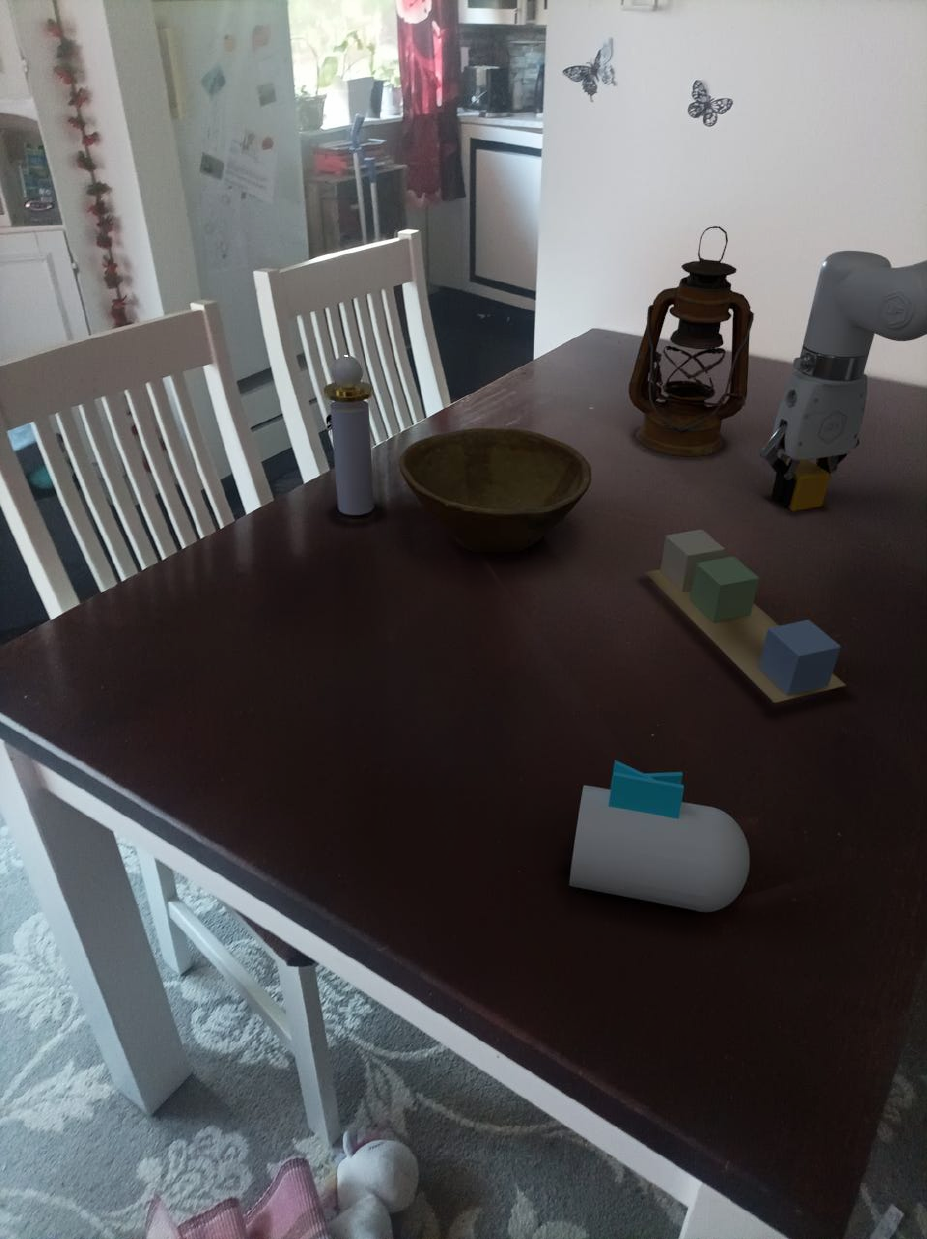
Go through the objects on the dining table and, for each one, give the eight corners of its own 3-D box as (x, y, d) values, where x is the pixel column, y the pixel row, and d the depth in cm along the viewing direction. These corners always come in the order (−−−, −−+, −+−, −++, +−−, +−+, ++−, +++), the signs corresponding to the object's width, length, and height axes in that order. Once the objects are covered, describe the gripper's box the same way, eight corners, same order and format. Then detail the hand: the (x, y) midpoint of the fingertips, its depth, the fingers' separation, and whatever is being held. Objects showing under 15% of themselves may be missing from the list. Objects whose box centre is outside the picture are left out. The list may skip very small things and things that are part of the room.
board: (704, 567, 101) (706, 560, 100) (843, 693, 82) (846, 685, 81) (643, 579, 98) (644, 571, 98) (772, 710, 80) (774, 702, 79)
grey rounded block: (769, 813, 56) (582, 781, 58) (745, 940, 58) (565, 905, 60) (748, 753, 67) (593, 728, 69) (729, 861, 69) (578, 834, 71)
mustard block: (800, 491, 117) (808, 459, 115) (822, 506, 114) (831, 474, 111) (771, 496, 116) (779, 464, 113) (793, 511, 112) (801, 478, 110)
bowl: (412, 596, 95) (410, 515, 89) (393, 501, 113) (391, 429, 108) (606, 582, 98) (616, 502, 92) (556, 492, 116) (562, 421, 111)
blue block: (797, 658, 85) (808, 619, 82) (828, 686, 81) (841, 646, 79) (757, 667, 84) (767, 627, 81) (787, 696, 80) (798, 656, 77)
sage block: (726, 592, 94) (733, 555, 92) (750, 615, 91) (759, 577, 88) (689, 599, 93) (696, 562, 90) (712, 623, 90) (720, 585, 87)
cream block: (695, 564, 99) (702, 529, 97) (717, 585, 96) (725, 548, 93) (659, 571, 98) (665, 535, 95) (681, 592, 94) (688, 555, 92)
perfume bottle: (387, 508, 112) (381, 353, 100) (361, 526, 108) (351, 367, 96) (351, 497, 114) (341, 345, 103) (324, 515, 110) (310, 358, 99)
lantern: (735, 428, 135) (777, 219, 118) (738, 462, 125) (784, 238, 108) (626, 417, 138) (651, 212, 121) (619, 450, 128) (646, 230, 111)
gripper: (792, 380, 99) (759, 522, 110) (910, 366, 104) (868, 503, 114) (753, 360, 105) (726, 496, 115) (867, 347, 110) (831, 479, 120)
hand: (797, 498), depth 115 cm, fingers closed on mustard block, 4 cm apart
